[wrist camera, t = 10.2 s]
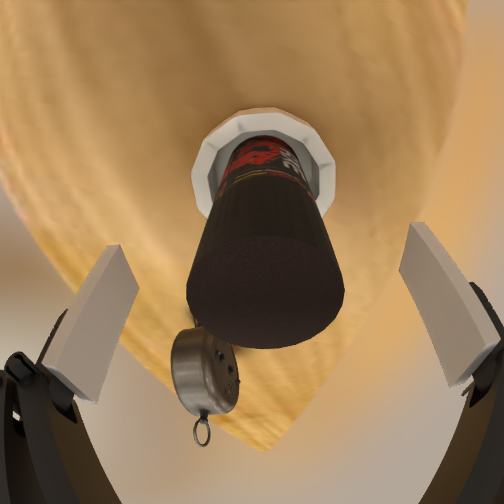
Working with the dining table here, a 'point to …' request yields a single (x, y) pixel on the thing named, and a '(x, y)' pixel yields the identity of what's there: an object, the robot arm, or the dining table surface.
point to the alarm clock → (204, 374)
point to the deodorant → (264, 254)
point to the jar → (273, 124)
